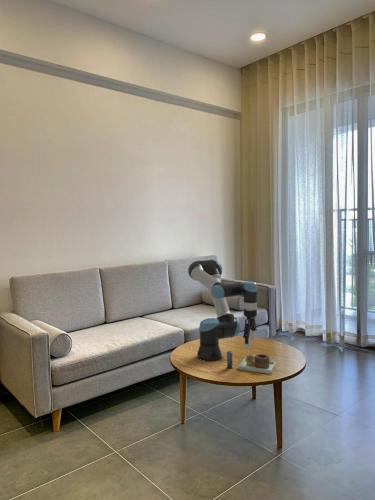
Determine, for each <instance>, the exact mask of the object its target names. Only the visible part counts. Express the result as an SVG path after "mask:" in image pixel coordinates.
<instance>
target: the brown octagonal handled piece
mask: <svg viewBox="0 0 375 500" xmlns="http://www.w3.org/2000/svg"><path fill="white" fill-rule="evenodd" d="M245 358H246V366H253V367H256V368H261V369H268V368H269V361H270V355H268V354H265V353H259V354H253V353H247V354H246V357H245Z"/></svg>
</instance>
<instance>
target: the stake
mask: <svg viewBox="0 0 375 500" xmlns="http://www.w3.org/2000/svg"><path fill="white" fill-rule="evenodd" d="M226 359H227V360H226V364H227V365H226V366H227V367H226V368H227V369H233V368H234V367H233V351H231V350H229V351H227V352H226Z"/></svg>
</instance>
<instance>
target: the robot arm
mask: <svg viewBox="0 0 375 500" xmlns="http://www.w3.org/2000/svg"><path fill="white" fill-rule="evenodd" d="M187 273H188V276H189V277H190V279H192V280H193V281H197V282H198V283H199V284H201V285H202V286H203V287H205V288H206V289H208V290H209V292H210V297H211V299H212V302H213V305H214V309H215V313H216V317H211V318H210V317H209V318H205V319H203V320H201V321H200V322H199V328H198V329H199V347H198V350H197V355H196V356H197V357H198V358H199V359H198V358H197V359H198V360H200V359H201V360H200V361H203V360H205V361H204V362H216V361H219V360H221V359H222V356H223V353H222V350H221V348H220V345H219V342H220V340H223V339H229V338H235V337H238V335H240V333H241V322H240V319H239V318H238V317H235V315H234V313H232V312H231V310H230V307H229V304H228V301H227V298H232V297H241V298H243V302H242V305H243V316H244V317H245V318H246V319H245V320H244V328H243V329H244V330H243V336H242V338H243V340H244V345H243V346H244V348H243V349H244V350H250V344H251V343H255V342H256V331H257V322H256V317H257V315H258V310H257V309H258V283H256V281H245V282H240V281H239V282H238V281H235V282H233V283H226V284H223V283H222V282H221V280H220V279H221V278H222V274H223V266H222V264H221V262H220V261H218V260H217V259H206V260H196V261H195V260H194V261H193V262H191V263H190V265H189V266H188V269H187Z"/></svg>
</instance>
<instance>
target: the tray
mask: <svg viewBox="0 0 375 500" xmlns="http://www.w3.org/2000/svg"><path fill="white" fill-rule="evenodd" d="M276 366H277V361H275V360H269V368H268V369H261V368H256V367H253V366H246V357H244V358H243V360H242V361H241V362H240V363H239V365H238V367H237V368H238V371H239V370H241V371H248V372H253V373H262V374H267V375H268V374H269V375H270V374H273V372H274V370H275V367H276Z"/></svg>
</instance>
